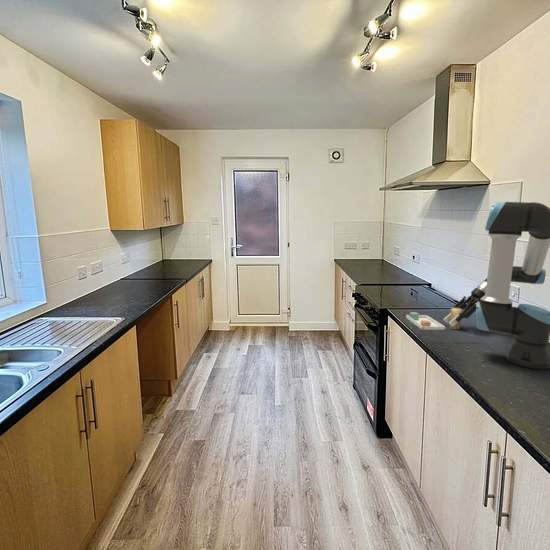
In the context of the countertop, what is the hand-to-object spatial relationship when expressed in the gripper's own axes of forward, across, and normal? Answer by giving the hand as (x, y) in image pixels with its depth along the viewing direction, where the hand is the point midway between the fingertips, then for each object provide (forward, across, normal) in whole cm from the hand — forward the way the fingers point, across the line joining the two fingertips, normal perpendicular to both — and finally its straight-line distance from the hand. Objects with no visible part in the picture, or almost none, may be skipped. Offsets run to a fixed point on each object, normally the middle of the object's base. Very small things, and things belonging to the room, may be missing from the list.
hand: (448, 323), depth 191 cm
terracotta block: (+10, -1, +7) cm, 13 cm away
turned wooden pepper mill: (0, 0, -5) cm, 5 cm away
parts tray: (+9, +6, +4) cm, 12 cm away
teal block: (+10, +14, +7) cm, 19 cm away
